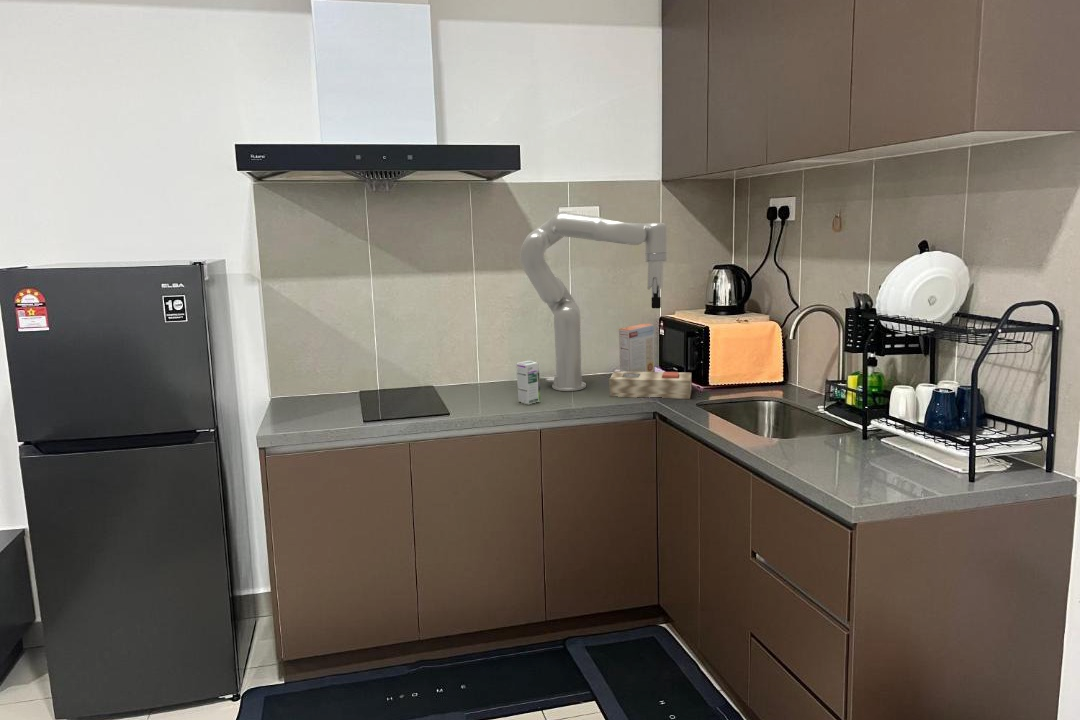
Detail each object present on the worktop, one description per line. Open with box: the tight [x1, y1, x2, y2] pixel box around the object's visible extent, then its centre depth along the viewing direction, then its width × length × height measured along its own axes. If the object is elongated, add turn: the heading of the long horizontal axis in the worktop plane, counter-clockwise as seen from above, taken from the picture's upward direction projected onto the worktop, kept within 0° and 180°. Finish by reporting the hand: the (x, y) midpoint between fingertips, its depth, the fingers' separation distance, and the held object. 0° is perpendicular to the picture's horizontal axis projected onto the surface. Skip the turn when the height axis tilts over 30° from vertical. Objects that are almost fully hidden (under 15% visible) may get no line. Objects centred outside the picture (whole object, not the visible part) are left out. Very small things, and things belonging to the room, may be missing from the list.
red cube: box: [663, 371, 679, 378], centre depth 279 cm, size 5×5×5 cm
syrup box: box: [516, 360, 542, 403], centre depth 275 cm, size 6×6×14 cm
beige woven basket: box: [609, 370, 692, 400], centre depth 281 cm, size 28×12×6 cm, turn 77°
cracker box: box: [618, 323, 656, 372], centre depth 300 cm, size 14×6×21 cm, turn 130°
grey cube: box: [623, 374, 639, 378], centre depth 283 cm, size 5×5×5 cm
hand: (656, 307), depth 287 cm, fingers closed
